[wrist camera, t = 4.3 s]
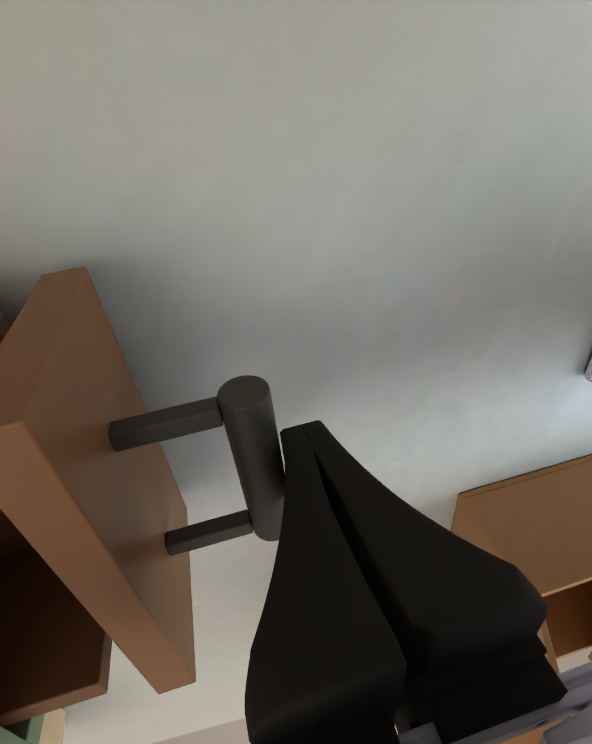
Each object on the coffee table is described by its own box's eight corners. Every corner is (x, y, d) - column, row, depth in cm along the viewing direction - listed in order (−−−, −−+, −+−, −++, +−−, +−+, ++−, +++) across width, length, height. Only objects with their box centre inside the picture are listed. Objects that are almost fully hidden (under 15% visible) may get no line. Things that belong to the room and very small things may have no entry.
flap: (497, 696, 27) (492, 695, 27) (543, 611, 20) (536, 610, 20) (522, 854, 22) (516, 852, 22) (597, 815, 15) (587, 813, 15)
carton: (438, 589, 32) (496, 697, 27) (458, 493, 25) (542, 612, 20) (593, 538, 34) (676, 629, 29) (651, 436, 27) (777, 530, 22)
